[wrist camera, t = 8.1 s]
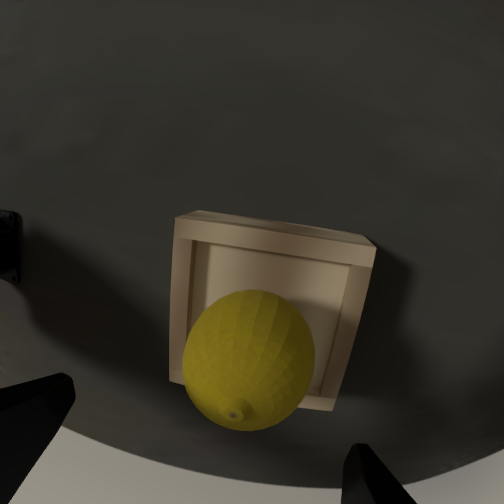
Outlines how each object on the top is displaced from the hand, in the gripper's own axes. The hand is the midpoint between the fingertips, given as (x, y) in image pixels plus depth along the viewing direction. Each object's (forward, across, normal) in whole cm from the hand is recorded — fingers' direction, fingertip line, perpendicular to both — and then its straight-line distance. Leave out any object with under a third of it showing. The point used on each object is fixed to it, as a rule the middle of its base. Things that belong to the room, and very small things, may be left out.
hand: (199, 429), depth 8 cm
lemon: (+10, -1, 0) cm, 10 cm away
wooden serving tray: (+12, -1, 0) cm, 12 cm away
